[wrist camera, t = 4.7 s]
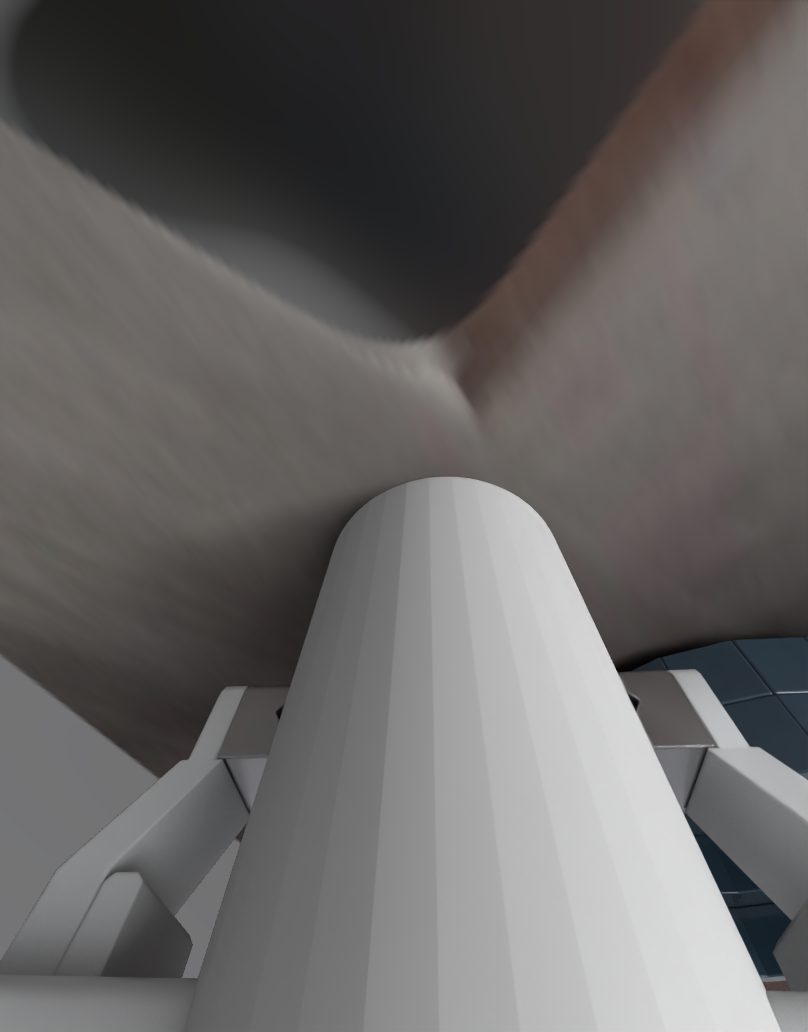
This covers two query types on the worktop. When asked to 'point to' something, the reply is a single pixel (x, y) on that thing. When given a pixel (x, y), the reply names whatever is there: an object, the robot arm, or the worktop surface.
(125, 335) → the worktop surface
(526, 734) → the beverage can
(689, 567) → the worktop surface
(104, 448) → the worktop surface
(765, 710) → the bowl
